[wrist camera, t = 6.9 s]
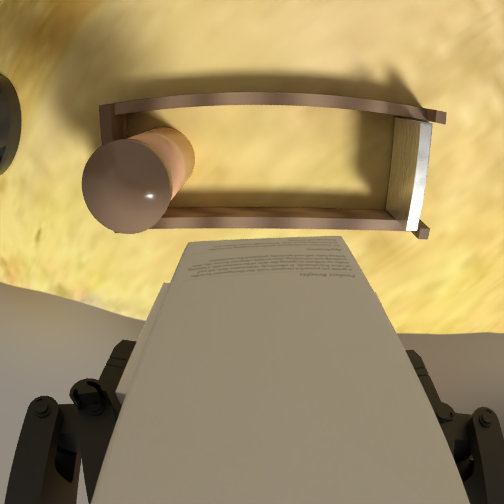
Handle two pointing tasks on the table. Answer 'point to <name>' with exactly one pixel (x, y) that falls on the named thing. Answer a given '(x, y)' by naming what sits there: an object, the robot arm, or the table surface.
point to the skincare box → (275, 389)
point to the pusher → (408, 171)
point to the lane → (267, 217)
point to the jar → (137, 178)
